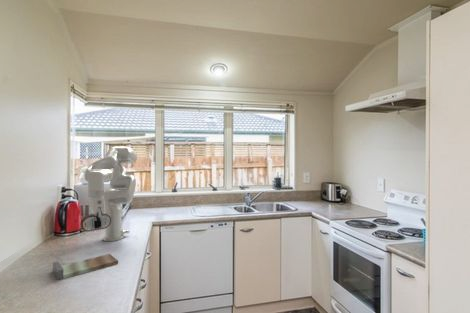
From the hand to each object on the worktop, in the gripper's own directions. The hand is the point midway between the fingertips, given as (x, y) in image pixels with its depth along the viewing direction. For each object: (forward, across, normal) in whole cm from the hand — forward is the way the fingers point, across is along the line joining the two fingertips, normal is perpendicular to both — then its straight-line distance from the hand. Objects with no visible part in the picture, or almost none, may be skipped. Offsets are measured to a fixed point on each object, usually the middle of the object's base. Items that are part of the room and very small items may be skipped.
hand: (96, 226), depth 144 cm
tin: (+2, 0, 0) cm, 2 cm away
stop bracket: (+14, -16, +21) cm, 30 cm away
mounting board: (+14, -16, +8) cm, 23 cm away
